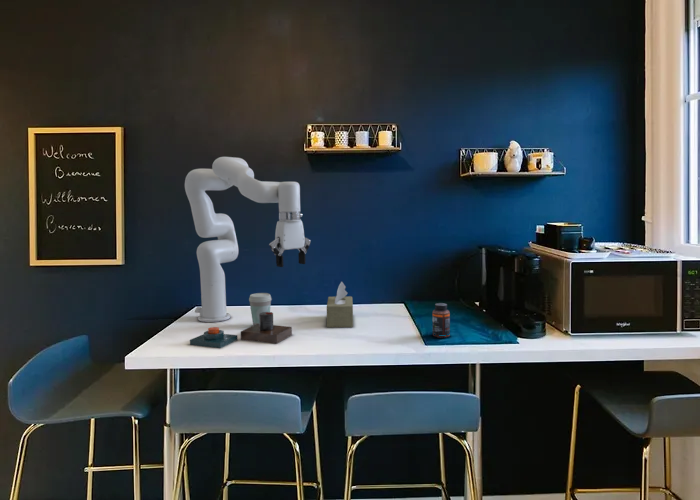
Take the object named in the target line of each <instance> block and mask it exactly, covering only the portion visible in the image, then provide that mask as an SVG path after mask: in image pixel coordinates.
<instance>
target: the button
mask: <svg viewBox="0 0 700 500" xmlns="http://www.w3.org/2000/svg"><path fill="white" fill-rule="evenodd" d="M219 330H220V327H218V326H211V327H209V328H207V331H208V334H217V333H219Z"/></svg>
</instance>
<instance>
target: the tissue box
mask: <svg viewBox="0 0 700 500" xmlns="http://www.w3.org/2000/svg"><path fill="white" fill-rule="evenodd" d="M346 288H347V287H346V285H345V284H344V282H343V281H340V283H339V285H338V287H337V290H336V295H335V296H328V297H327V302H326V328H353V327H354V303H353V296H351V295H349V296H347V295H348V292H347V290H346Z"/></svg>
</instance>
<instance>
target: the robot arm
mask: <svg viewBox="0 0 700 500" xmlns="http://www.w3.org/2000/svg"><path fill="white" fill-rule="evenodd" d="M211 166H212V167H211V168H195V169H192V170H190V171H189V172H188V173H187V175H186V176H185V178H184V179H185V180H184V190H185V191H184V192H185V195H186V196H187V199H188V201H189V206H190V209H191V210H190V211H191V214H192V219H193V224H194V228H195V232H196V235H198V236H199V237H200V238H204V239H207V238H208V239H209V238H217V239H213V240H206V241H203V242H201V243H200V244H199V245H198V246H197V248H196V258H197V262H198V267H199V277H200V278H199V279H200V294H201V295H200V298H201V300H200V301H201V306H196V308H195V309H194V313H195V314H199V315H198V317H197V320H198V321H200V322H204V323H218V322H224V321H227V320H229V319H230V318H231V313H228V312H227V293H226V274H225V271H224V269H223V267H222V265H221V264H225V263H231V262H234V261H236V259H238V256H239V244H238V239H237V235H236V229H235V225H234V222H233V220H232V218H231V217H230V216H229V215H228V214H226V213H221V212H219V213H216V211H215V208H214V203H213V201H212V199H211V198H210V196H209V195H208V193H207V192H206V191H226V190H227V189H229V188H232V187H236V188H237V189H238V191H239V193H240V194H241V195H242V196H244V197H245V198H247V199H248V200H251V201H253V202H255V203H259V204H275V203H276V204H278V220H277V222H276V226H275V234H274V239H273V240H272V241H271V242H270V243H269V244H268V246H269V249H270V250H271V252H272V253H273V255H274V256H275V264H276V267H279V268H284V255H283V253H284V252H285V251H286V250H297V251H299V252H298V253H297V254H298V264H300V265H306V260H307V259H306V254H307V252H308V250H309V248H310V246H311V241H312V240H311V239H309V238H308V237H305V230H304V229H305V228H304V223H303V221H302V217H303V213H301V186H300V183H299V182H297V181H267V180H265V181H263V180H262V181H261V180H258V179H256V178H255V173H254V170H253V169H252V168H250V167H249V164H248V162H247V161H246V160H245V159H243V158H241V157H235V156H233V157H232V156H220V157H217V158H215V160H214V161H213V163H212V165H211Z"/></svg>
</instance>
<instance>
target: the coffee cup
mask: <svg viewBox="0 0 700 500" xmlns="http://www.w3.org/2000/svg"><path fill="white" fill-rule="evenodd" d="M272 300H273V298H272V296H271V294H270V293H268V292H257V293H251V294H250V295H249V298H248V301H249V306H250V313H251V319H252V326H254V325H256V324H259V313H262V312H271V305H272V304H271V303H272Z"/></svg>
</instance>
